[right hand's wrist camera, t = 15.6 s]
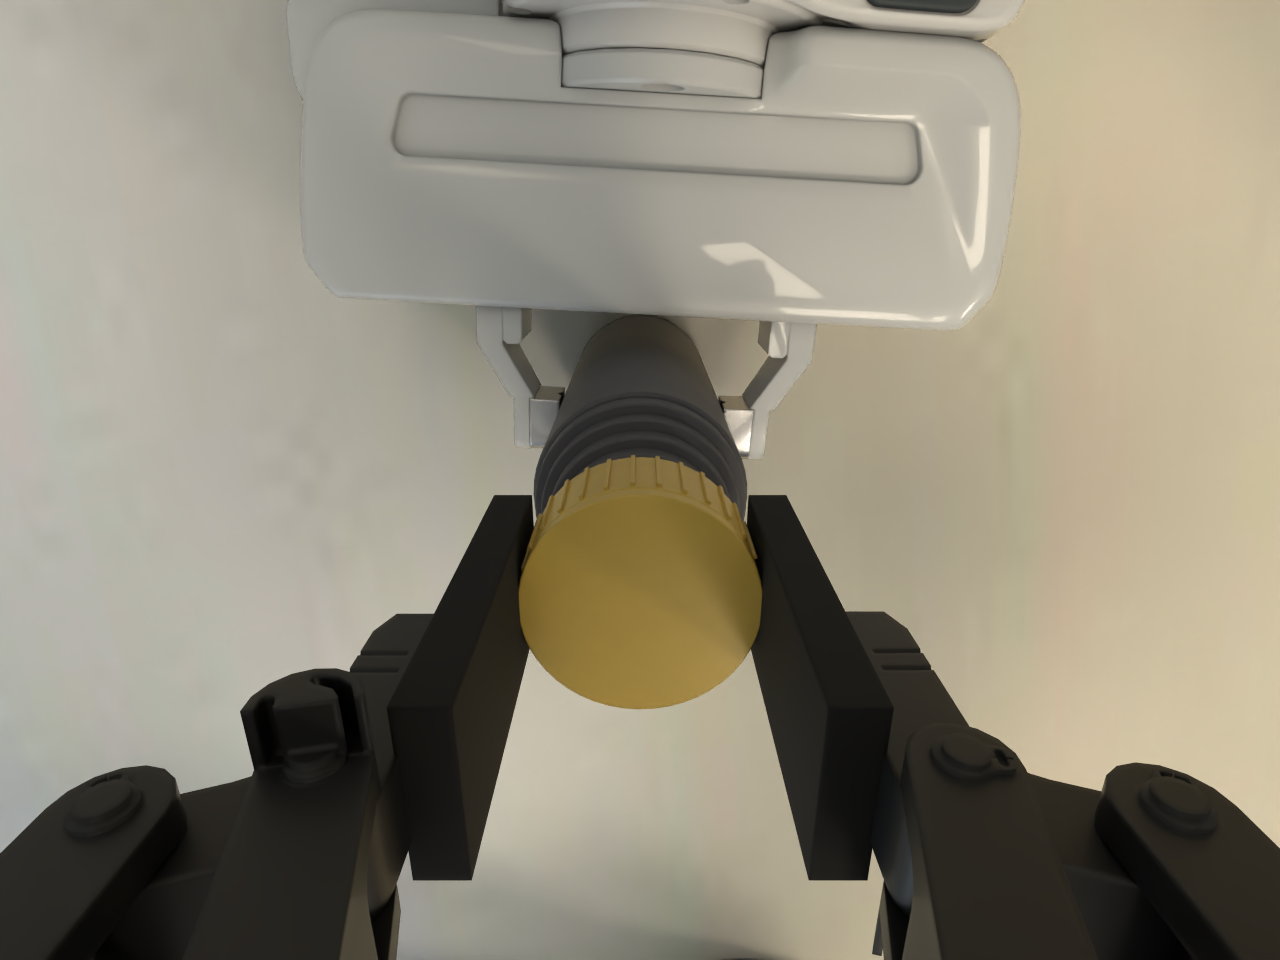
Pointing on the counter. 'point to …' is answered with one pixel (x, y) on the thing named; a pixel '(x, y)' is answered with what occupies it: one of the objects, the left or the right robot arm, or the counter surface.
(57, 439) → the counter surface
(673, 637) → the cap
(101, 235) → the counter surface
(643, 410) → the bottle
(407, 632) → the right robot arm
